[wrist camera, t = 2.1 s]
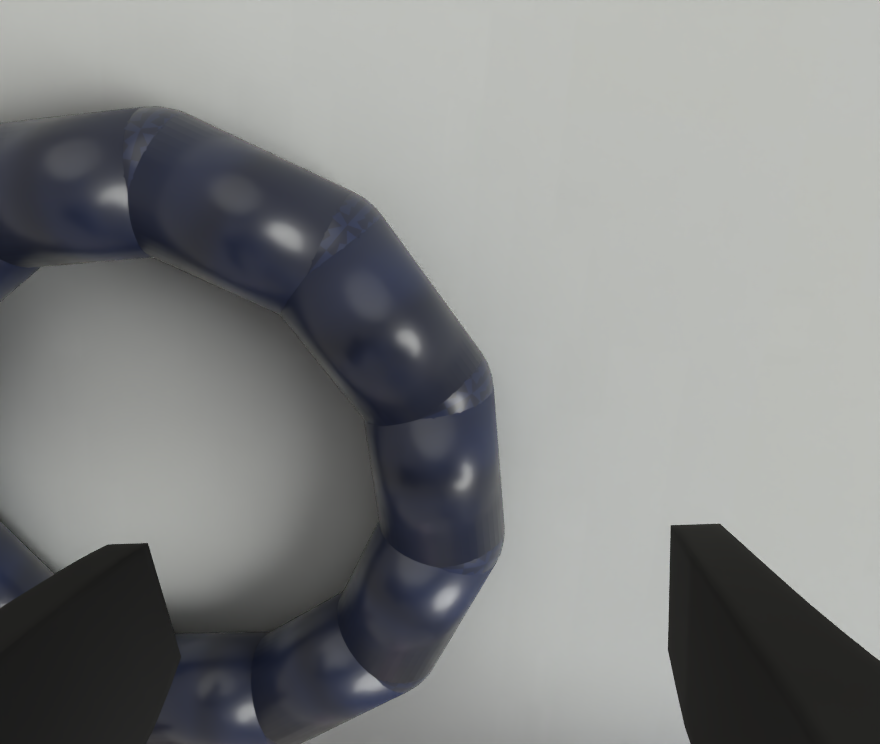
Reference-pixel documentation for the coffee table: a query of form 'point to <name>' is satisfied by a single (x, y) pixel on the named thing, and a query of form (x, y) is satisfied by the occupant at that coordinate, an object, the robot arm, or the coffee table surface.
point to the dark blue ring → (339, 353)
